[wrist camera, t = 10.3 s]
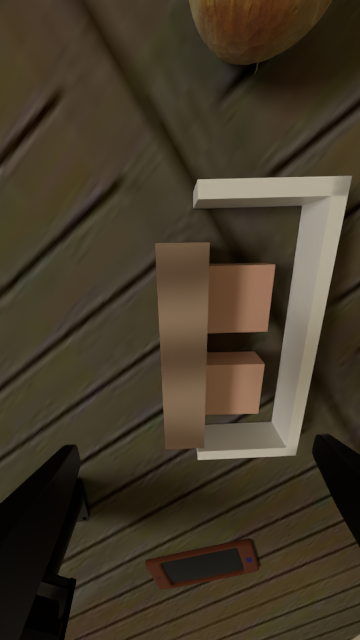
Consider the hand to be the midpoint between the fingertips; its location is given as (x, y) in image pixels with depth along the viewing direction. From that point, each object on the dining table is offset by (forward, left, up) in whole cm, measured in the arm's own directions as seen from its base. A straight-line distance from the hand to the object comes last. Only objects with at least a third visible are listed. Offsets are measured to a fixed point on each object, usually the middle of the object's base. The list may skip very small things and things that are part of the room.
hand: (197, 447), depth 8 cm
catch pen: (0, -5, -11) cm, 12 cm away
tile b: (+3, -4, -11) cm, 12 cm away
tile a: (-4, -4, -11) cm, 13 cm away
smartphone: (-35, -2, -12) cm, 37 cm away
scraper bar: (0, 0, -11) cm, 11 cm away
